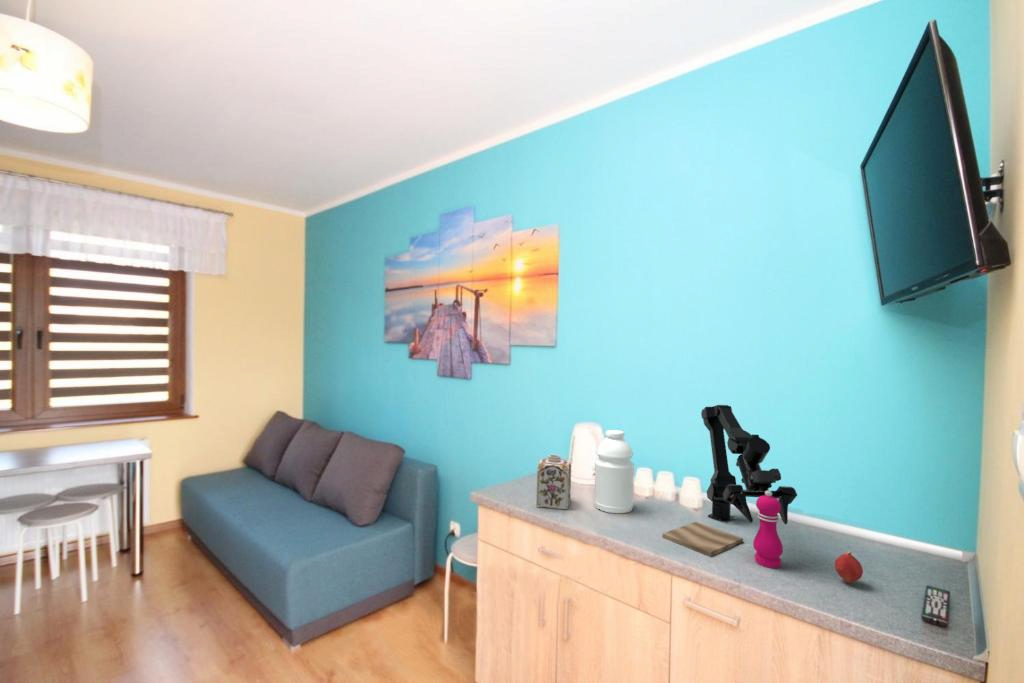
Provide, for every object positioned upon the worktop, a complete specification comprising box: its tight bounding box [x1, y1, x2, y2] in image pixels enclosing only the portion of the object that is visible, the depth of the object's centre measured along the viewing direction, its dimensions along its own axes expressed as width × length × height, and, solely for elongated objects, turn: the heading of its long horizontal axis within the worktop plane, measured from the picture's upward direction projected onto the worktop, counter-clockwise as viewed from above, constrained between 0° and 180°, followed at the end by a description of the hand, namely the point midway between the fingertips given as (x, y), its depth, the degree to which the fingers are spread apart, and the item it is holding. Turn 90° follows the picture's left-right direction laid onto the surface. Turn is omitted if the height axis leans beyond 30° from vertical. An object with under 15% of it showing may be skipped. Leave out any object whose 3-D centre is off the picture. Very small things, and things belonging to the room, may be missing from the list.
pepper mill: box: [752, 490, 784, 569], centre depth 128 cm, size 7×7×20 cm
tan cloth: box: [662, 521, 744, 558], centre depth 143 cm, size 18×16×1 cm
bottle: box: [594, 429, 635, 514], centre depth 170 cm, size 14×14×28 cm
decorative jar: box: [536, 454, 572, 510], centre depth 173 cm, size 12×12×18 cm
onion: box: [834, 551, 864, 584], centre depth 118 cm, size 6×6×8 cm
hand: (768, 522), depth 127 cm, fingers open, 9 cm apart
